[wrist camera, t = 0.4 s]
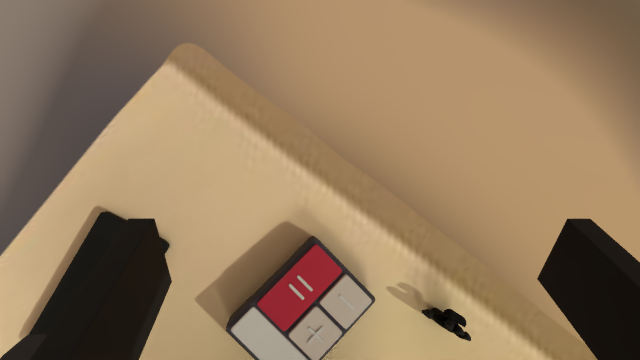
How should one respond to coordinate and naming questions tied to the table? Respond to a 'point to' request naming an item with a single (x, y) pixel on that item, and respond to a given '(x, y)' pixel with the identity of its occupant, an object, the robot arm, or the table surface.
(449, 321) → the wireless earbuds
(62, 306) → the cell phone
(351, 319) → the calculator
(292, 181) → the table surface
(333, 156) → the table surface
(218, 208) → the table surface
